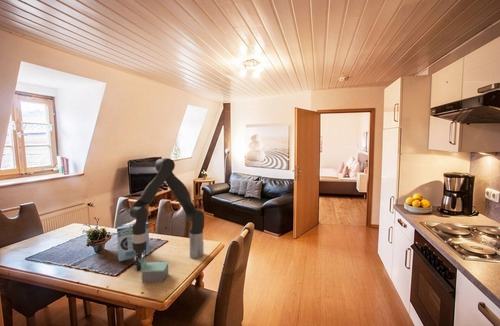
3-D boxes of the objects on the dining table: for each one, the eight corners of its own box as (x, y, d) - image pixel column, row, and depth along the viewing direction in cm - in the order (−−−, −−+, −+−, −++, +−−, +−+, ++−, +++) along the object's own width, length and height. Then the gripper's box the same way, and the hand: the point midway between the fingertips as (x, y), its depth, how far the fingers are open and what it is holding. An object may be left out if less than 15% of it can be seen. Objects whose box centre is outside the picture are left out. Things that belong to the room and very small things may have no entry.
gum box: (148, 251, 176) (147, 221, 174) (149, 254, 172) (148, 223, 169) (118, 258, 165) (116, 226, 163) (118, 262, 161) (117, 228, 159)
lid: (168, 263, 146) (168, 256, 146) (163, 271, 137) (163, 264, 136) (140, 263, 145) (140, 256, 145) (133, 272, 136) (133, 264, 136)
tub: (168, 274, 147) (168, 263, 146) (163, 283, 138) (163, 271, 137) (148, 274, 146) (147, 263, 145) (142, 283, 137) (141, 271, 136)
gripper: (141, 245, 132) (142, 275, 134) (150, 235, 146) (151, 262, 148) (127, 245, 132) (128, 275, 134) (137, 235, 146) (138, 262, 148)
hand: (140, 268), depth 141 cm, fingers closed on lid, 4 cm apart
